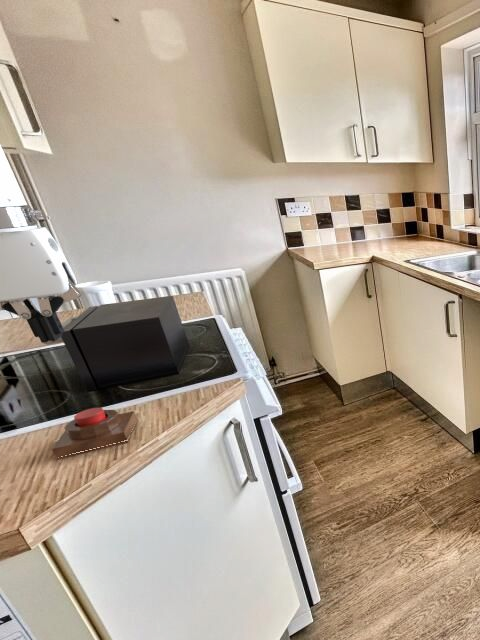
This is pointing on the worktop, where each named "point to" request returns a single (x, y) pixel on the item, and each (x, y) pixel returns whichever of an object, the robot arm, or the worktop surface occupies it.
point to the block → (95, 434)
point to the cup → (96, 293)
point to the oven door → (77, 348)
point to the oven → (133, 341)
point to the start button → (89, 417)
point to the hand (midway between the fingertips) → (52, 338)
